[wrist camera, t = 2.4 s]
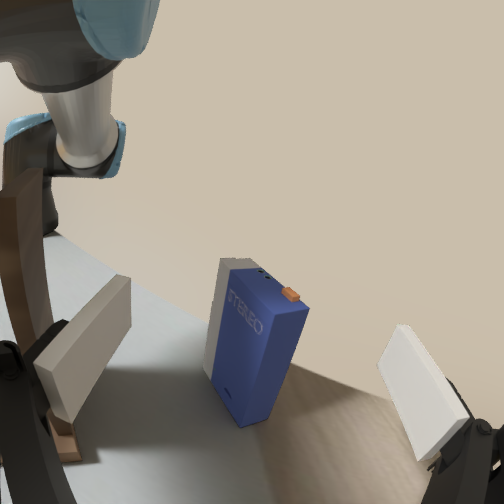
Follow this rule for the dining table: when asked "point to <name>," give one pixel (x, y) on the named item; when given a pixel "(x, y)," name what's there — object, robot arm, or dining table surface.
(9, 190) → the book end
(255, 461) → the dining table surface
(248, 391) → the walkman
